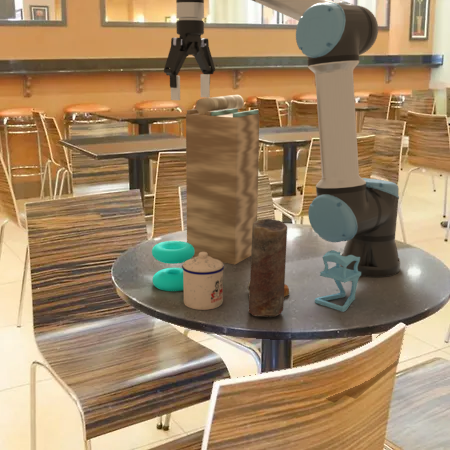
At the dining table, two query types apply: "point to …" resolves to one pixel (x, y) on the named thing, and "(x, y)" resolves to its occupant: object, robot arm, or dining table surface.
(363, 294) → the dining table surface
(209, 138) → the tall wooden crate
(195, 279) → the teacup with lid
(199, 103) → the cream rounded cylinder
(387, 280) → the dining table surface
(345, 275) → the chair
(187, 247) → the donuts
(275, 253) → the brown upright cylinder
